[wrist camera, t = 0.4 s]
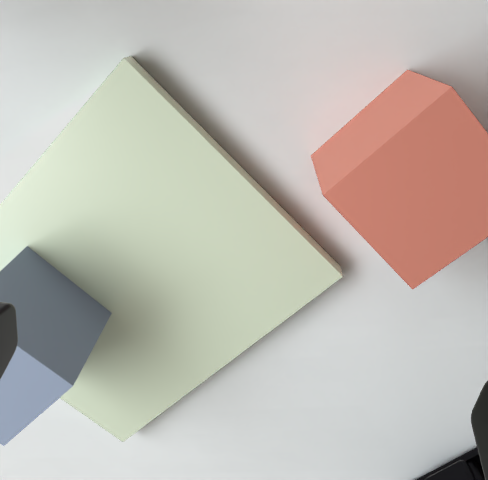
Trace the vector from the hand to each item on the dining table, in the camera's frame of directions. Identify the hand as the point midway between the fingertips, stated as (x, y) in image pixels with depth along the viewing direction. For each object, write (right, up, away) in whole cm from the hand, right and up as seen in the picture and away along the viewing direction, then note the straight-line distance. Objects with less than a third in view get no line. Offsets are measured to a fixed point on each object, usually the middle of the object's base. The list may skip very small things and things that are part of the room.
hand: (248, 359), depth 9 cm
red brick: (+6, +6, +11) cm, 14 cm away
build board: (-6, 0, +14) cm, 15 cm away
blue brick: (-10, -1, +14) cm, 17 cm away
